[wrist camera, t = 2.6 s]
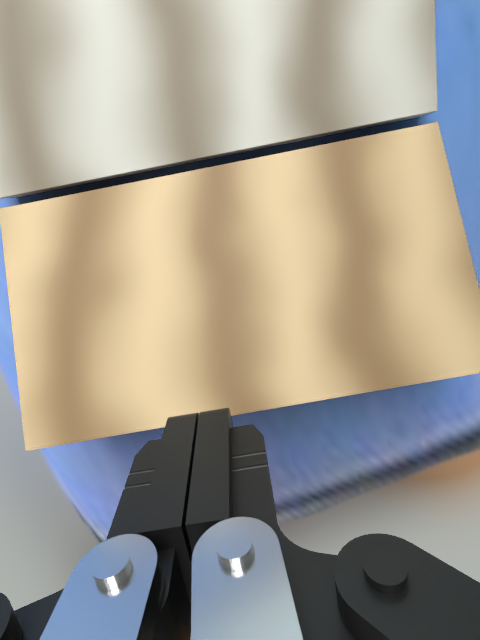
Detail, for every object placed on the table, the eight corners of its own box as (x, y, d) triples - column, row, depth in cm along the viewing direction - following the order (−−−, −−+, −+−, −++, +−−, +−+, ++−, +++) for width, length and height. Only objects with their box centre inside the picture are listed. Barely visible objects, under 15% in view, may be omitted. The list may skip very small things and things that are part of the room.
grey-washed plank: (409, -128, 18) (430, -166, 16) (418, 117, 21) (437, 110, 19) (-61, -23, 19) (-94, -46, 17) (15, 197, 22) (-5, 198, 20)
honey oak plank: (421, 144, 21) (437, 121, 19) (475, 369, 20) (499, 369, 18) (22, 222, 22) (-1, 208, 20) (48, 442, 21) (25, 451, 19)
